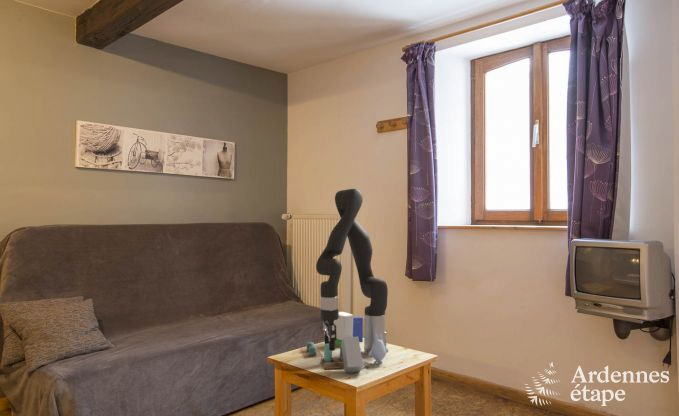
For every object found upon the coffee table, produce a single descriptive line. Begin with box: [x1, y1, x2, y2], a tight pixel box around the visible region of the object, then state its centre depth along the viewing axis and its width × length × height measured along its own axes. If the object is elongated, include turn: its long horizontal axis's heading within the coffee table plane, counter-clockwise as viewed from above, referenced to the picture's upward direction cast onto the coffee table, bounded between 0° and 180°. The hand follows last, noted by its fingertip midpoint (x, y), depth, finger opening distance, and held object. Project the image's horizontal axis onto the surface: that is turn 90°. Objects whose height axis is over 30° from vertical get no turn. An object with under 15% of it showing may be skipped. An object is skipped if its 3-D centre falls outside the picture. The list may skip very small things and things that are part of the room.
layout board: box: [299, 341, 324, 359], centre depth 205 cm, size 8×13×5 cm, turn 13°
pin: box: [323, 343, 333, 363], centre depth 191 cm, size 3×3×9 cm
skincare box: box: [332, 311, 355, 347], centre depth 220 cm, size 8×7×16 cm
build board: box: [320, 343, 345, 371], centre depth 191 cm, size 11×8×9 cm
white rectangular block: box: [341, 337, 364, 374], centre depth 185 cm, size 6×12×6 cm
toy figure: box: [367, 334, 389, 365], centre depth 195 cm, size 11×6×12 cm, turn 125°
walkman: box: [353, 315, 364, 343], centre depth 229 cm, size 8×3×12 cm, turn 96°
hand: (329, 347), depth 190 cm, fingers open, 8 cm apart
